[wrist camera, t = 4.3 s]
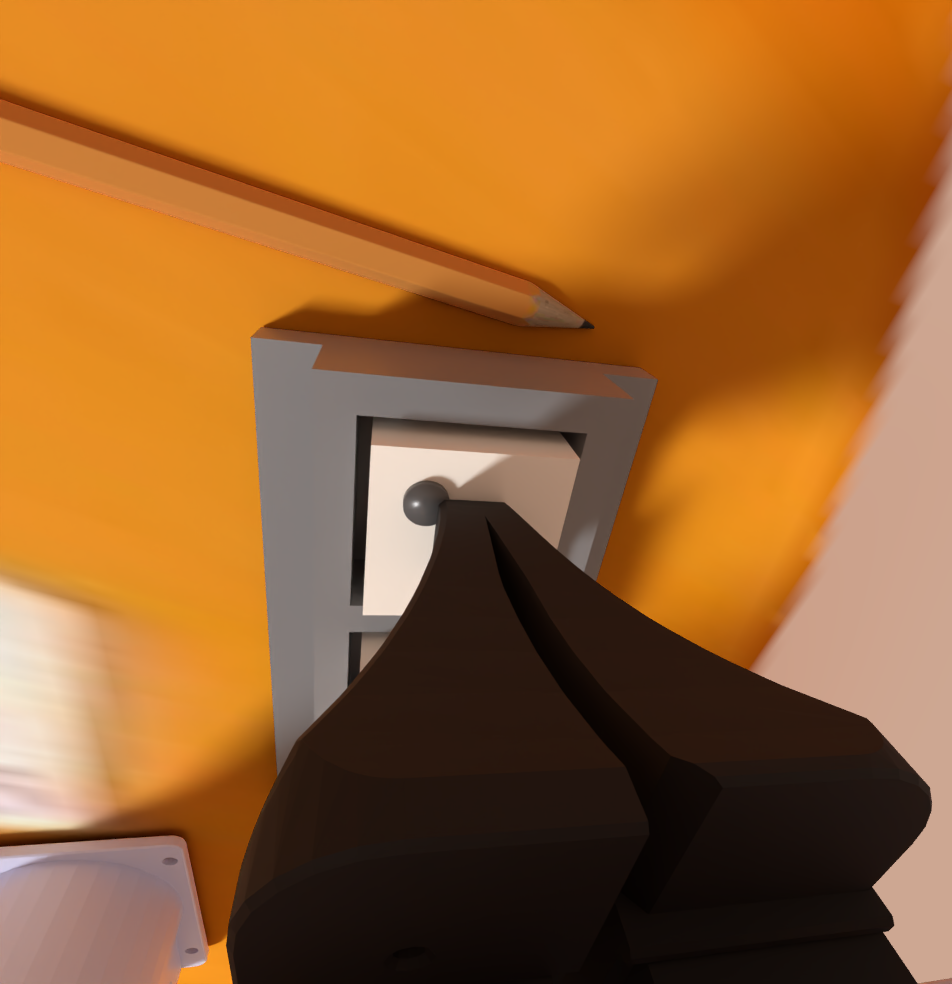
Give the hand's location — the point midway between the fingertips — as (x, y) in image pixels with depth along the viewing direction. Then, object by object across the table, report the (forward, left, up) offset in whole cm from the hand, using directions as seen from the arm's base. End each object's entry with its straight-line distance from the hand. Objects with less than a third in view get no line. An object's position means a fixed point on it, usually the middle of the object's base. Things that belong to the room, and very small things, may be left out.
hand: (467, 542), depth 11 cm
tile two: (0, 0, -3) cm, 3 cm away
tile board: (-5, 0, -4) cm, 6 cm away
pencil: (+6, +6, -4) cm, 9 cm away
